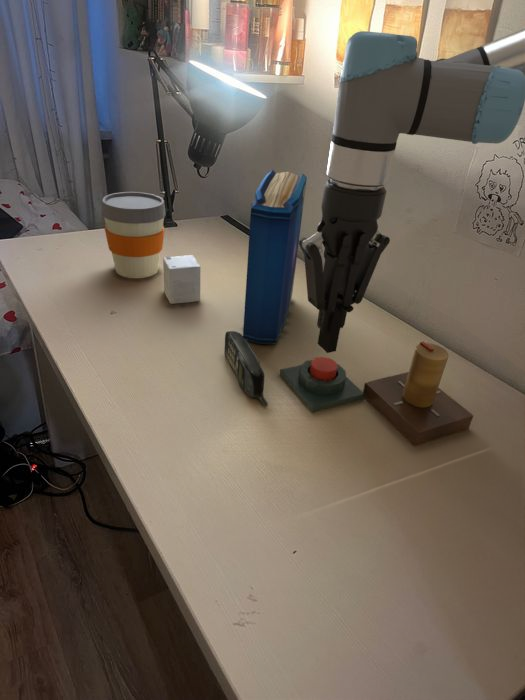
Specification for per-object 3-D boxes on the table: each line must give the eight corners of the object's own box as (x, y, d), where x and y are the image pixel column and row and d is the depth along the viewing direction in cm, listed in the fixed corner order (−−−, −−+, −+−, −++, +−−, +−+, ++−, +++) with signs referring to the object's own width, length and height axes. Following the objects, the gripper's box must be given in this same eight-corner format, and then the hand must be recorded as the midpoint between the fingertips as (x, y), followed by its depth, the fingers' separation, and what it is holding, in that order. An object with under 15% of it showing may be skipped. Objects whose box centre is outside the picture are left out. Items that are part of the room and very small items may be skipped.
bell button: (326, 364, 78) (328, 354, 77) (340, 378, 75) (342, 368, 75) (304, 369, 77) (306, 359, 76) (318, 383, 74) (320, 373, 73)
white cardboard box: (200, 301, 99) (201, 266, 95) (169, 304, 97) (169, 268, 93) (192, 288, 103) (193, 254, 100) (163, 291, 101) (162, 256, 97)
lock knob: (439, 403, 72) (456, 354, 68) (416, 410, 70) (432, 360, 66) (418, 386, 75) (433, 338, 71) (396, 392, 74) (409, 344, 69)
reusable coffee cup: (96, 265, 109) (89, 195, 101) (147, 254, 117) (144, 188, 109) (125, 286, 102) (120, 213, 94) (178, 273, 109) (177, 204, 101)
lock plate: (412, 382, 81) (416, 368, 79) (468, 429, 72) (474, 414, 70) (361, 395, 77) (365, 381, 75) (414, 446, 68) (419, 431, 66)
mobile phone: (222, 329, 81) (254, 380, 69) (239, 327, 82) (275, 377, 70) (221, 355, 83) (252, 409, 71) (238, 353, 84) (272, 406, 72)
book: (278, 352, 85) (295, 204, 72) (237, 346, 86) (246, 198, 73) (292, 298, 103) (307, 172, 90) (258, 293, 104) (268, 167, 91)
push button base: (327, 365, 83) (330, 349, 81) (363, 400, 76) (367, 384, 74) (279, 375, 79) (281, 359, 78) (311, 413, 72) (314, 396, 70)
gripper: (380, 173, 67) (348, 328, 79) (294, 175, 61) (275, 341, 74) (418, 188, 61) (377, 352, 74) (327, 192, 56) (300, 369, 68)
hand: (326, 347), depth 74 cm, fingers closed
